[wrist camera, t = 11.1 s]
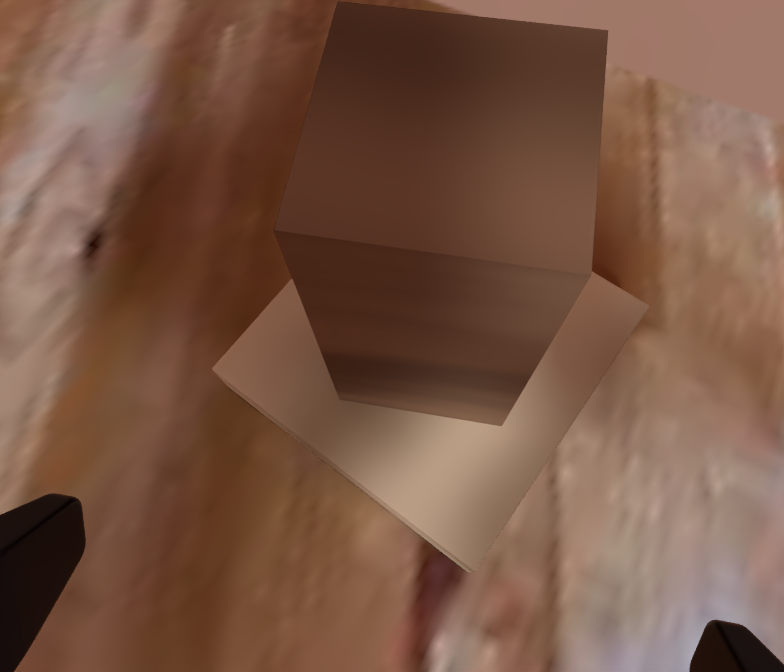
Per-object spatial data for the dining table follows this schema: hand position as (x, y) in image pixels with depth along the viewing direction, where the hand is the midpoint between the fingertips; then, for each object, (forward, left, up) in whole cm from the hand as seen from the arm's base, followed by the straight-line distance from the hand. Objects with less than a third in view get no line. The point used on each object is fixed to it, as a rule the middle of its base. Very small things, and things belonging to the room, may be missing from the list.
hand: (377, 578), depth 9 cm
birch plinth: (+3, -7, -11) cm, 13 cm away
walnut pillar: (+3, -7, -9) cm, 12 cm away
